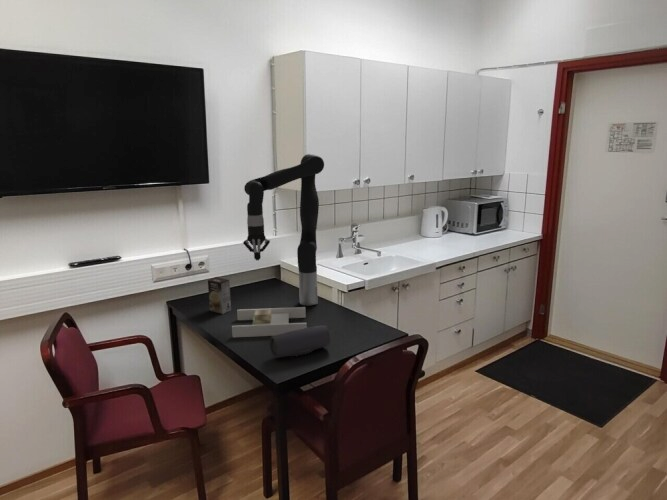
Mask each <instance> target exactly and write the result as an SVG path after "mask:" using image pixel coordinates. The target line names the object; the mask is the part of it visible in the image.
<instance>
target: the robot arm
mask: <svg viewBox="0 0 667 500" xmlns="http://www.w3.org/2000/svg"><path fill="white" fill-rule="evenodd" d="M324 168H325V161H324V159H323V158H322V157H321V156H319V155H316V154H310V153H307V154H305V155H303V157H302V158H301V160H300V164H298V165H294V166H291V167H287V168H283V169H279V170H276V171H274V172H271V173H269V174H266V175H264V176H261V177H257V178H254V179H251V180H248V181H247V182H246V183H245V185H244V189H243V190H244V193H245V194H247V196H248V203H247V205H246V206H247V207H246V210H247V219H246V221H247V223H246V224H247V238H246V239H245V240H243V242H242V243H243V245H244V246H245V248H247V249H248V251H249V252H250V253H251V252H252V253H253V256H254V257H253V258H254V260H255V261H260V260H261V252H264V251H265V250H266V248H267V247H268V246H269V245H270V242H271V240H270V239H268V238H266V235H265V220H264V214H263V213H264V212H263V204H264V196H265V193H264V192H266V191H271V190H274V189H277V188H279V187H281V186H283V185H286V184H288V183H292V182H293V181H296V180H298V179H300V181H301V182H300V185H301V186H300V201H299V204H300V205H299V218H300V225H301V233H300V234H301V235H300V240H299V244H298V247H297V251H296V255H297V267H298V287H299V288H298V292H299V293H298V294H299V304H300V305H302V306H314V305H318V304H319V303H318V302H319V300H318V299H319V297H318V296H319V295H318V273H317V272H318V269H317V268H318V266H317V254H316V253H317V249H318V246H317V225H318V220H319V211H320V210H319V208H320V206H319V205H320V201H319V196H318V191H317V188H316V175H319V174H320V173H321V172H322V171H323V170H324ZM249 243H250V244H249ZM263 243H264V245H263ZM262 245H263V246H262Z"/></svg>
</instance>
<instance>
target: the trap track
mask: <svg viewBox="0 0 667 500" xmlns="http://www.w3.org/2000/svg"><path fill="white" fill-rule="evenodd" d="M256 310H271V316H272V318H271V323H255V320H254V314H255V311H256ZM236 313H237V314H236V316H237V321H252V323H251V324H244V325H243V324H241V325H231V333H232V338H247V337H248V338H251V337H255V338H256V337H269V336H270V337H273V336H275V335H279V334H282V333H286V332H290V331H294V330H299V329H304V328H308V326H307V322H291V323H290V322H289V321H290V319H301V318H302V319H303V318H304V319H306V314H307V313H306V306H299V307H293V306H292V307H275V308H273V307H272V308H271V307H270V308H269V307H268V308H245V309H244V308H243V309H237V310H236Z"/></svg>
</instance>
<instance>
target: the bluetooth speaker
mask: <svg viewBox="0 0 667 500" xmlns="http://www.w3.org/2000/svg"><path fill="white" fill-rule="evenodd" d="M330 344H331V335H330V331H329V328H328V326H326V325H324V324H323V325H316V326H311V327H309V326H308V327H307V328H304V329H299V330H294V331H290V332H286V333H282V334H279V335H275V336H270V339H269V349H270V352H271V354H272V356H273V357H274V358H275V359H280V358H285V357H289V356H296V357H298V356H297V355H301V354H305V353H308V354H310V353H309V352H311V353H313V352H314V350H319V349H321V348H324V347H327V346H329V345H330ZM312 351H313V352H312ZM305 355H306V354H305ZM301 356H302V355H301Z"/></svg>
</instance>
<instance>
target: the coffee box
mask: <svg viewBox="0 0 667 500" xmlns="http://www.w3.org/2000/svg"><path fill="white" fill-rule="evenodd" d="M207 287H208V300H209V301H208V302H209V305H208V306H209V311H211V312H214V313H217V314H218V313H219V314H222V315H223V314H225V313H228V312H230V311H232V307H231V306H232V305H231V284H230V279H227V278H224V277H218V276H215V277H212V278H210V279H207Z"/></svg>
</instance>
